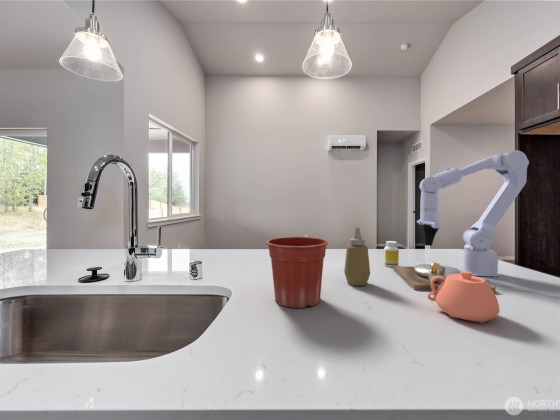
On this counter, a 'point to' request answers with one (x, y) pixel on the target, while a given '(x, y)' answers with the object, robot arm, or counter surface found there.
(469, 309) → the sugar bowl
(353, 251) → the squeeze bottle
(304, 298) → the flower pot
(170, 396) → the counter surface
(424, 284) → the post board
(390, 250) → the supplement bottle
